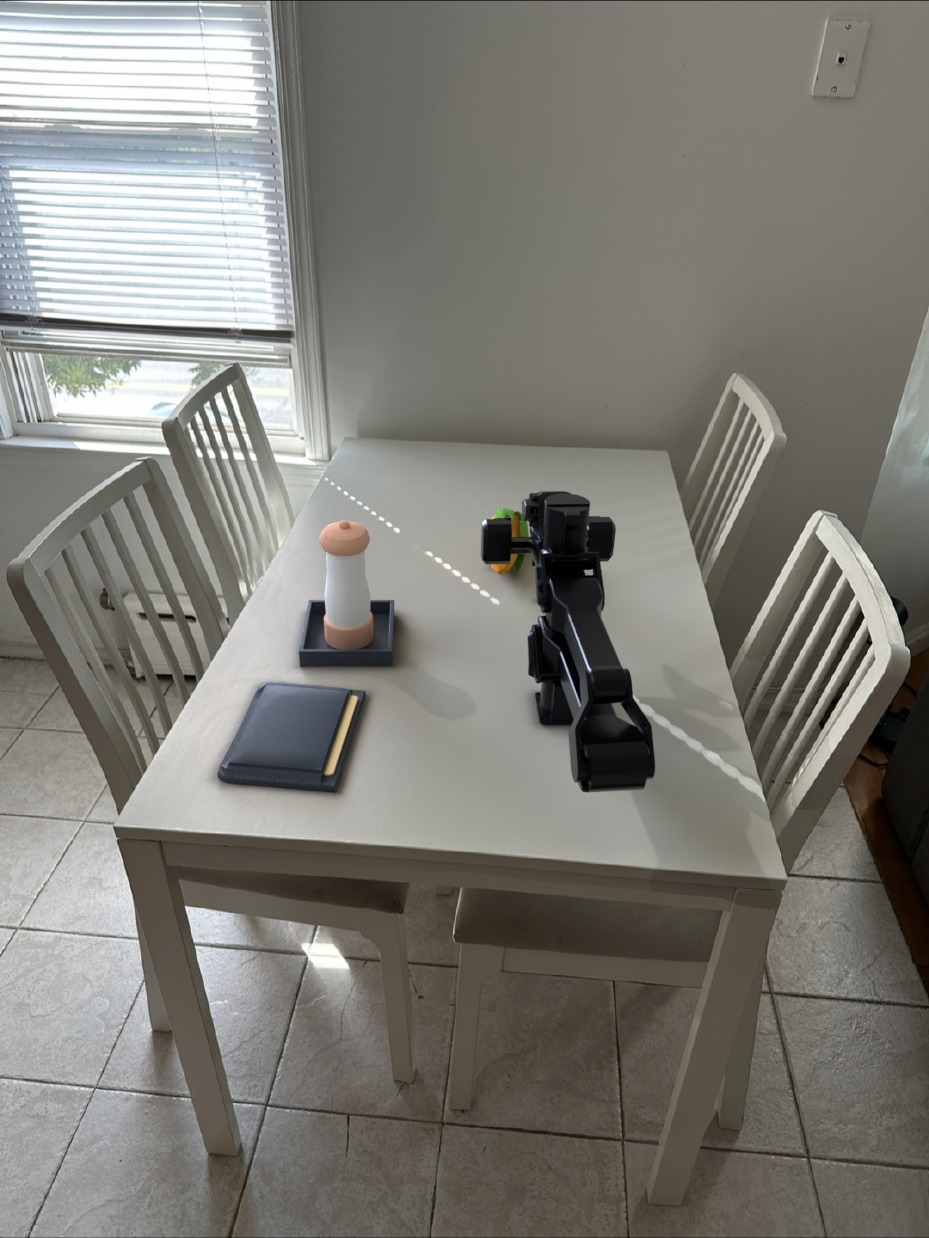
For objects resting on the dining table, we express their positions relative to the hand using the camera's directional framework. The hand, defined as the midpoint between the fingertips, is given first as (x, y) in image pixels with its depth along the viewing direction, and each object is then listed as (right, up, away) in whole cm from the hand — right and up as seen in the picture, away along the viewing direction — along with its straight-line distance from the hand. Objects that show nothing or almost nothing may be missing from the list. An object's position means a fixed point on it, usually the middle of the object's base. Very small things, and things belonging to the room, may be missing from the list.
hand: (537, 517), depth 137 cm
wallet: (-33, -30, -19) cm, 48 cm away
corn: (-4, -5, +23) cm, 24 cm away
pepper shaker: (-28, -18, +1) cm, 33 cm away
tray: (-28, -18, +1) cm, 34 cm away
